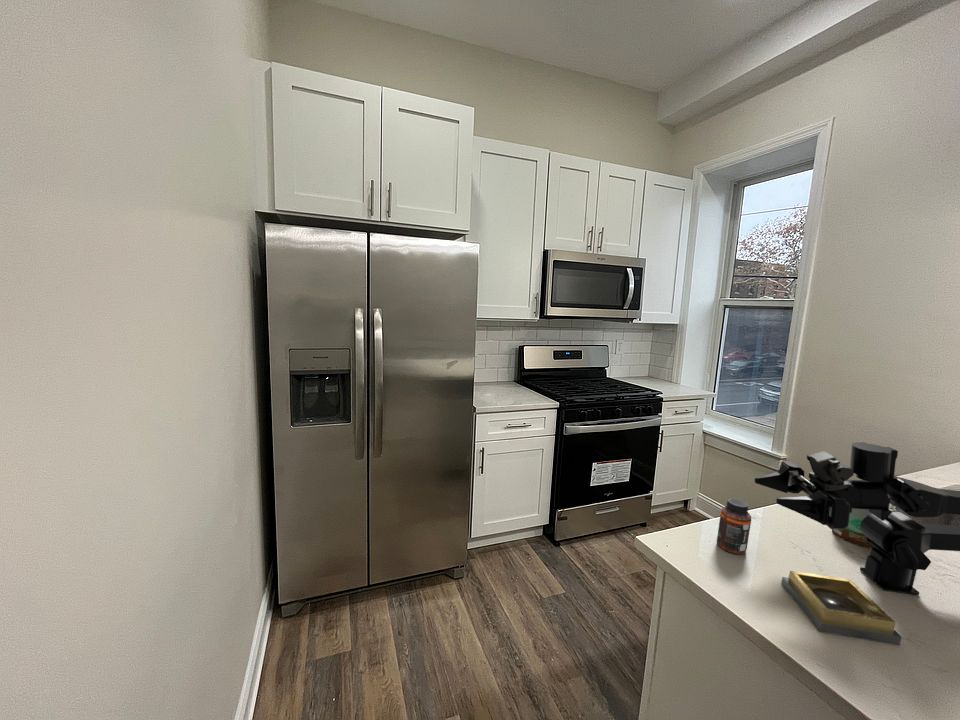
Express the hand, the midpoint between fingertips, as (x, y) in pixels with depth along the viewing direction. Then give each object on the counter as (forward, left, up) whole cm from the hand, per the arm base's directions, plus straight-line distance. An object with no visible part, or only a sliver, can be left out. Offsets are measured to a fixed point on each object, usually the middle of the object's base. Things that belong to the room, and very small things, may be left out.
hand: (765, 490), depth 85 cm
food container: (-30, -15, -17) cm, 38 cm away
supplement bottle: (+3, -5, -17) cm, 18 cm away
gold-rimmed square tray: (-8, +12, -17) cm, 23 cm away
